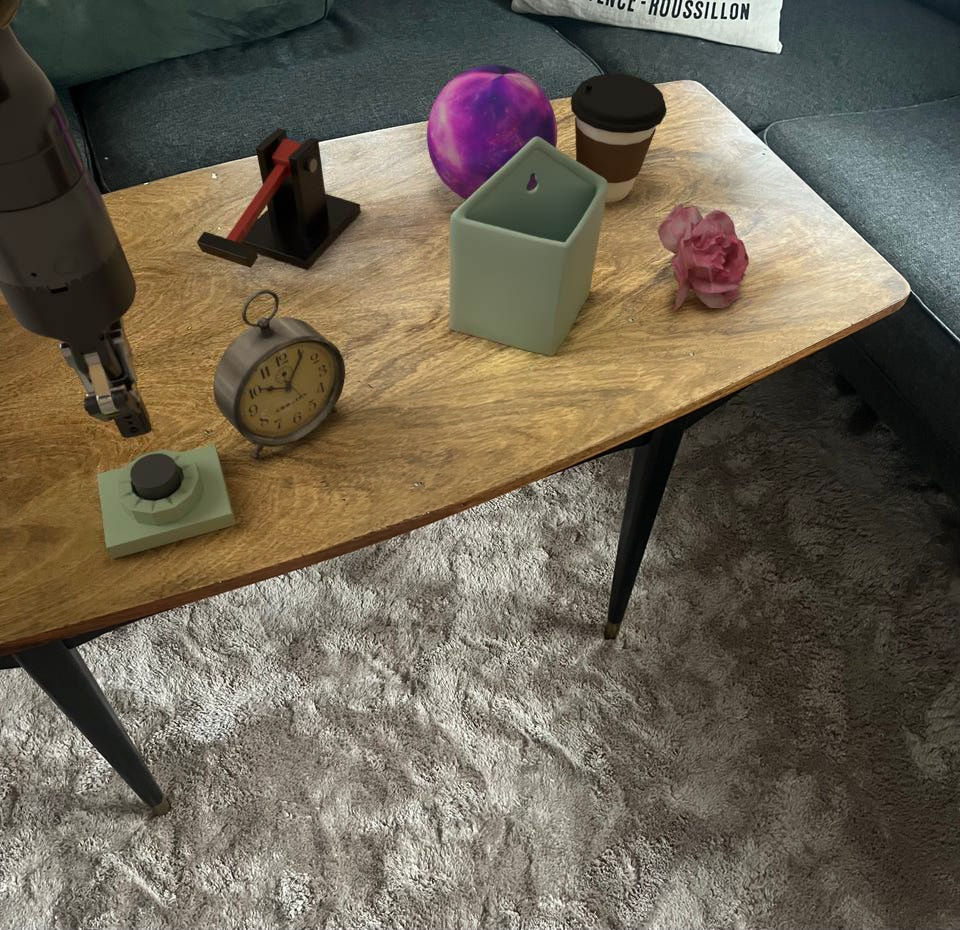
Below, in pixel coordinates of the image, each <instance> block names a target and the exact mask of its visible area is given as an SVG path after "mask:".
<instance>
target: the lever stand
mask: <svg viewBox="0 0 960 930" xmlns="http://www.w3.org/2000/svg"><path fill="white" fill-rule="evenodd" d="M284 139H287V140H289V139H288V134H287V130H286V129H283V128H281V127H277V128H276V129H275V130H274V131H273V132H272V133H271V134H269V135H268V136H267V137H266V138H265V139H263V140H262V141H260V143H259V144H258V145H257V146H255V153H256V157H257V162H258V169H259V173H260V178H261V182H262V185H263V184H264V183H265V181H266V180H267V178H268V177H269V175H270V174H271V172H272V171H273V169H274V168H275V165H274V162H273V160H272V155H273V154H274V152H275V151H276V150H277V148H278V147H279V145H280V144H281V142H282V141H283V140H284ZM301 144H302V145H301V146H300V147H299V148H298V149H297V150H296V151H294V152H293V153H292V154H291V155H290V156H289V157H288V158H289V165H290V171H291V177H288V176H286V177H285V179H284V180H283V182H282V183H281V185H280V186H279V188H278V189H277V191H276V192H275V194H274V195H273V197H272V198H271V200H270V201H269V202H268V204H267V205H266V210H265V211H263V212H262V213H261V214H260V216H259V217H258V219H257V220H256V222H255V223H254V225H253V226H252V228H251V229H250V231H249V232H248V233H247V235H246V236H245V238H244V239H243V241H242V242H241V244H244V245H248V246H251V247H253V248H254V249H255V251H256V253H257V255H260V256H263V257H267V258H269V259H272V260H275V261H279V262H282V263H285V264H288V265H291V266H294V267H298V268H299V269H303V270H306V271H308V270H309V269H310V268H311V266H312V265H313V264H314V263H315V262H316V261H317V260H318V259H319V258H320V257H321V256H322V255H323V254H324V253H325V252H326V250H327V249H329V247H330V246H331V245H332V244H333V243H334V242H335V241H336V240H337V239H338V238H339V237H340V236H341V234H342V233H343V232H344V231H345V230H346V229H347V228H348V227H349V226H350V225H351V224H352V223H353V222H354V220H355V219H357V217H358V216H359V215H360V214H361V204H360V203H358V202H354V201H352V200H347V199H345V198H342V197H338V196H335V195H332V194H328V193H326V187H325V181H324V173H323V165H322V157H321V149H320V142H319V139H318V138H316V137H311V136H310V137H309V138H308V139H306V140H305V141H304V142H303V143H301Z"/></svg>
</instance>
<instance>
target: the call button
mask: <svg viewBox="0 0 960 930" xmlns="http://www.w3.org/2000/svg"><path fill="white" fill-rule="evenodd" d="M130 477H131V480H132V482H133V484H134V486H135V488H136V490H137V492H138V494H139V495H140V496H141V497H142V498H144V499H147V500H153V501H154V500H161V499H165V498H167V497H169V496H171V495H172V494H173V493H175V492H176V491H177V489H178V488H179V486H180V484H181V476H180V473H179V471H178V468H177V466H176V463H175V461H174V460H173V459H172V458H171V457H170V456H168V455H165V454H160V453H156V454H150V455H147V456H144V457H142V458H141V459H139V460H138V461H137V462H136V463H135V464H134V465H133V467H132V469H131V472H130Z"/></svg>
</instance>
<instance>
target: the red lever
mask: <svg viewBox="0 0 960 930" xmlns="http://www.w3.org/2000/svg"><path fill="white" fill-rule="evenodd" d="M287 139H288V138H287ZM287 139H284V140H283V141H282V142H281V144H280V145H279V147H278V148H277V150H276V151H275V152H274V154H273V155H272V160H273V162H274V165H275V168H274V169H273V171H272V172H271V174H270V175H269V177H268V178H267V180H266V181H265V183H264V184H263V183H262V185H261V187H260V188H259V190H258V191H257V193H256V194H255V195H254V197H253V198H252V199H251V201H250V202H249V205H247V207H246V208H245V210H244V212H243V213H242V215H241V216H240V217H239V218H238V220H237V222H236V223H235V224H234V225H233V227H232V229H231V231H229V233H228V234H227V236H226V237H223V236H219V235H218V234H214V233H210V232H209V231H203V232H202V234H201V235H200V236H199V238H198V239H197V240H196V244H197V246H198V247H199V250H200V252H202V253H204V254H207V255H210V256H213V257H215V258H219V259H222V260H226V261H229V262H232V263H234V264H238V265H241V266H243V267H246V268H249V269H252V267H253V266H254V264H255V263H256V261H257V260H258V259H259V256H258V255H259V254H257V253H256V251H255V249H254V248H253V247H251V246H248V245H244V244H241V242H242V241H243V239H244V238H245V236H246V235H247V233H248V232H249V231H250V229H251V228H252V226H253V225H254V223H255V222H256V220H257V219H258V218H259V217H260V216H261V215H262V214H263V212H264V210H265V208H267V204H268V202H269V201H270V200H271V198H272V197H273V195H274V194H275V192H276V191H277V189H278V188H279V186H280V185H281V183H282V182H283V180H284V179H285V177H286V176H288V177H291V171H290V165H289V158H288V157H289V156H290V155H291V154H292V153H293V152H294V151H296V150H297V149H298V148H299V147H300V146H301V145H302V144H303V143H300V142H297V141H294V140H290V139H288V140H287Z"/></svg>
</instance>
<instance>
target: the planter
mask: <svg viewBox="0 0 960 930" xmlns="http://www.w3.org/2000/svg"><path fill="white" fill-rule="evenodd" d="M532 173H535V179H536V181H537V186H536V187H535V188H534V189H533V190H531V191H527V190H526V186H527V184H528V183H529V181H530V176H531V174H532ZM607 187H608V183H607V181H606V179H605V178H603V177H602V176H600V175H598V174H596V173H595V172H593V171H591V170H590V169H588V168H587V167H585V166H584V165H582V164H580V163H579V162H577V161H576V159H574V158H572V157H571V156H569V155H568V154H566V153H564V152H562V151H561V150H559V148H557V147H556V148H555V147H553V146H552V145H551V144H549V143H548V142H546V141H545V140H543V139H542V138H540V137H537V136H536V137H534V138H532V139H531V140H530V141H529V142H528V143H527V144H526V145H525V146H524V147H523V148H522V149H521V150H520V151H519V152H518V153H517V154H516V155H515V156H514V157H512V158H511V159H510V160H509V161H508V162H507V163H506V164H505V165H504V166H503V167H502V168H501V169H500V170H498V171H497V172H496V173H495V174H494V175H493V176H492V177H491V178H490V179H489V180H487V181H486V182H485V183H484V184H483V185H482V186H481V187H480V188H479V189H478V190H477V191H475V192H474V193H473V194H472V195H471V196H470V197H469V198H468V199H465V200H464V202H463V203H461V204H460V205H459V206H458V207H457V208H456V209H455V210H454V211H453V212H452V214H451V215H450V218H449V276H448V277H449V285H448V287H449V288H448V289H449V290H448V291H449V293H448V295H449V299H448V300H449V307H448V309H449V310H448V311H449V312H448V313H449V314H448V315H449V316H448V317H449V318H448V327H449V329H450V330H452V331H454V332H457V333H460V334H465V335H469V336H472V337H477V338H479V339H483V340H487V341H491V342H494V343H498V344H501V345H505V346H509V347H511V348H516V349H520V350H523V351H527V352H532V353H535V354H540V355H545V356H548V357H552V356H554V355H555V354H556V352H557V351H558V349H559V348H560V346H561V345H562V344H563V342H564V341H565V340H566V338H567V336H568V334H569V332H570V330H571V329H572V326H573V325H574V323H575V321H576V319H577V317H578V316H579V313H580V312H581V310H582V308H583V306H584V304H585V303H586V301H587V299H588V298H589V295H590V293H591V292H590V291H591V287H592V282H593V281H592V280H593V276H594V275H593V274H594V269H595V263H596V259H597V258H596V257H597V253H598V246H599V240H600V234H601V229H602V224H603V223H602V222H603V217H604V210H605V206H606V202H605V200H606V194H607Z"/></svg>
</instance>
